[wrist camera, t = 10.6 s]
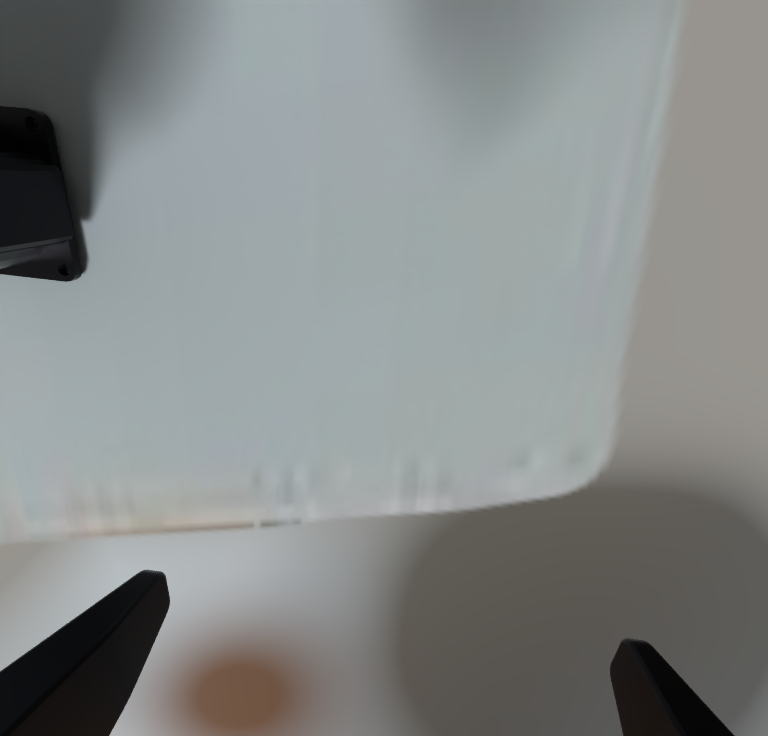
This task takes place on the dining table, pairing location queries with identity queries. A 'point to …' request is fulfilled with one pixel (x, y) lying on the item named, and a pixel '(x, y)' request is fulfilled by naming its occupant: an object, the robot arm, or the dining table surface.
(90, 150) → the dining table surface
